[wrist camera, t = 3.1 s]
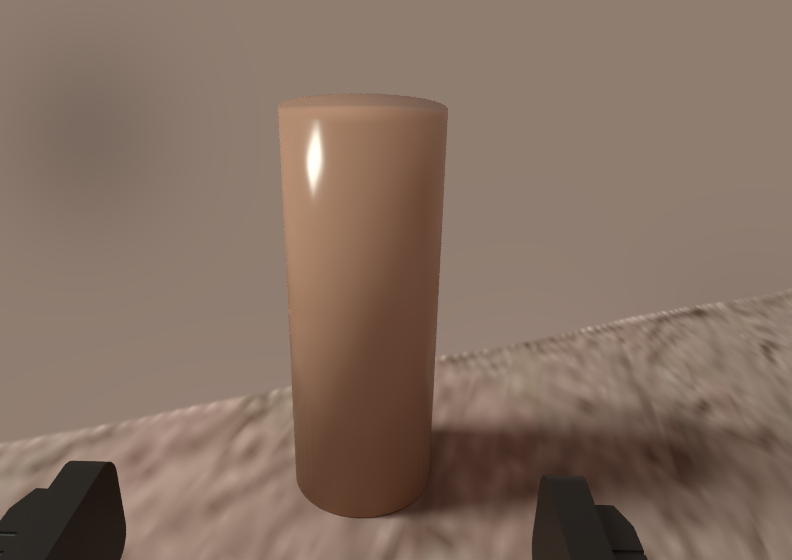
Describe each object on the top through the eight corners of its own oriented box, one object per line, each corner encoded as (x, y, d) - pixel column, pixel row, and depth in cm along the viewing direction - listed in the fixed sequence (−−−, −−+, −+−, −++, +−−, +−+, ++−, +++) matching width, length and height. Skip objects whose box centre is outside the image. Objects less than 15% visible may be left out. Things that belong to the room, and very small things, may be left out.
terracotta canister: (427, 430, 29) (443, 95, 23) (431, 519, 24) (453, 125, 18) (305, 427, 29) (292, 91, 23) (286, 516, 24) (263, 120, 18)
